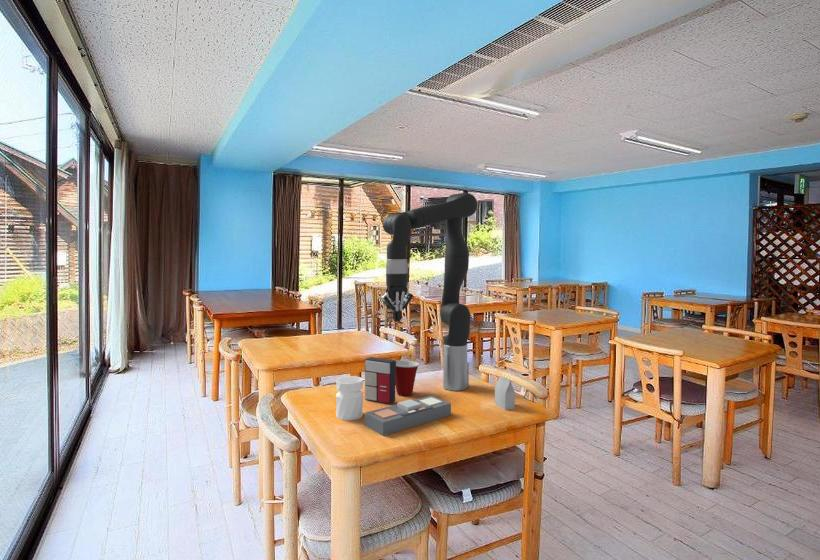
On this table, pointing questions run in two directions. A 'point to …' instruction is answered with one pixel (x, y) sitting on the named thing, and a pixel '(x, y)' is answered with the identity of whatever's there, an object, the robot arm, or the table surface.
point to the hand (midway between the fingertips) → (397, 321)
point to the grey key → (408, 405)
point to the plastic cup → (405, 377)
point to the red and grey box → (380, 380)
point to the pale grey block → (504, 394)
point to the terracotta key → (385, 413)
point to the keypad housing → (407, 417)
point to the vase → (349, 398)
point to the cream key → (430, 401)
